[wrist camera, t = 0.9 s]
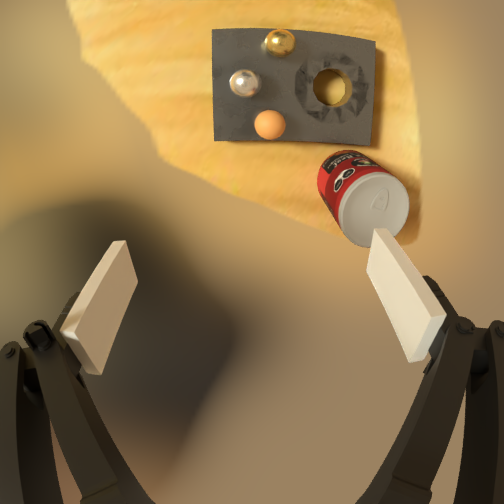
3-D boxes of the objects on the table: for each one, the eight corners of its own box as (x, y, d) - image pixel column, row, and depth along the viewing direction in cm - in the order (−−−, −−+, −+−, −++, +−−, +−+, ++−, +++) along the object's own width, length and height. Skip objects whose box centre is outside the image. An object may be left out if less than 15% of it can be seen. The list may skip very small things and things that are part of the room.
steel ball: (230, 69, 27) (228, 67, 25) (260, 69, 27) (262, 67, 25) (230, 97, 29) (229, 98, 26) (260, 97, 29) (262, 98, 26)
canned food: (373, 149, 34) (415, 175, 25) (367, 206, 39) (402, 247, 29) (316, 147, 34) (343, 172, 25) (314, 206, 39) (336, 250, 29)
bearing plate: (214, 33, 27) (211, 29, 25) (367, 43, 27) (375, 41, 25) (216, 137, 34) (214, 141, 31) (362, 141, 34) (370, 145, 32)
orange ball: (254, 108, 30) (255, 110, 27) (283, 109, 30) (287, 111, 27) (254, 136, 31) (255, 142, 29) (283, 137, 31) (287, 142, 29)
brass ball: (263, 31, 25) (265, 25, 22) (293, 33, 25) (298, 27, 22) (263, 58, 27) (265, 55, 24) (293, 59, 27) (298, 56, 24)
